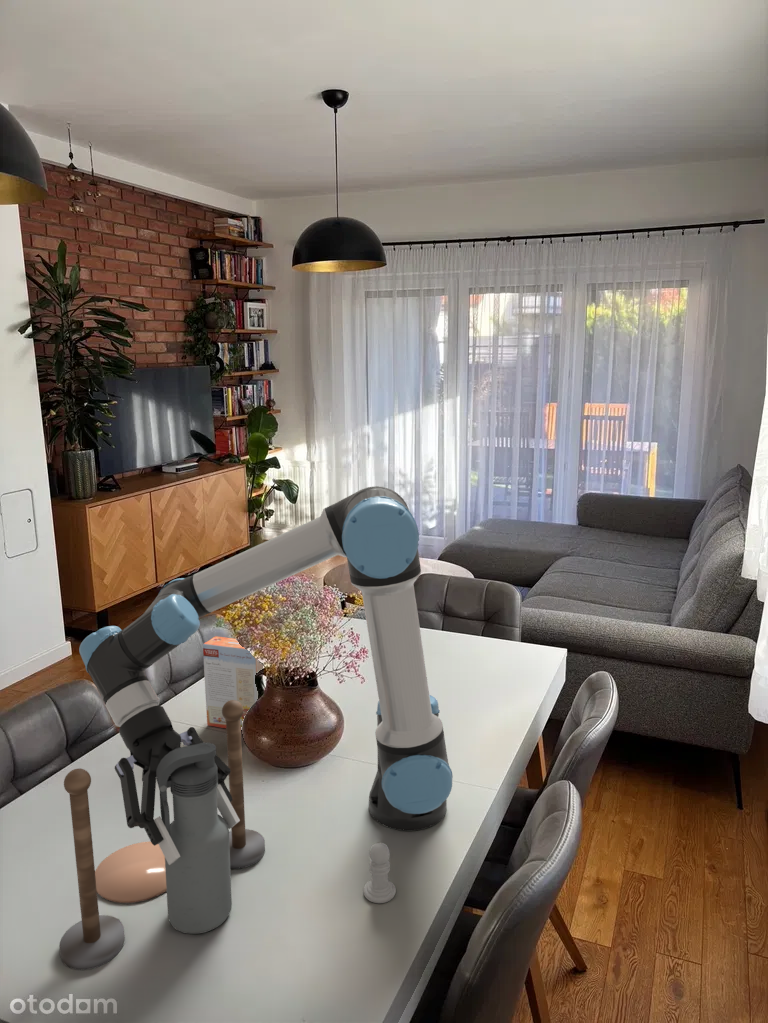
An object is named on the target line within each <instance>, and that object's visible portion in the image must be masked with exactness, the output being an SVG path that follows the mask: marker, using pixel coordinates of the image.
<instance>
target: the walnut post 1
mask: <svg viewBox="0 0 768 1023" xmlns="http://www.w3.org/2000/svg"><path fill="white" fill-rule="evenodd" d="M63 780H64V781H63V787H64V790H65V792H66V793H68V794H69V802H70V804H69V805H70V813H71V822H72V824H71V825H72V834H73V843H74V844H73V845H74V855H75V866H76V873H77V874H76V877H77V885H78V896H79V908H80V915H81V916H80V917H81V920H80V921H78V922H75V923H73V925H71V926H70V927H69V928H68V929H67V930H66V931H65V933H64V934H63V935H62V937H61V939H60V942H59V954H60V955H59V956H60V960H61V962H62V963H63V965H64V966H66V967H67V968H68V969H69V968H70V969H73V970H75V971H76V970H78V971H79V970H80V971H85V970H91V969H94V968H95V969H96V968H97V967H100V966H103V965H104V964H107V963H108V962H110V961H111V960H112V959H114V958H115V957H116V956H117V955H118V954H119V953H120V952H121V950H122V949H123V947H124V944H125V941H126V939H125V938H126V937H125V927H124V924H123V922H122V921H121V919H119V918H117V917H115V916H113V915H109V914H107V915H106V914H104V915H103V914H102V915H100V913H99V901H98V900H99V899H98V893H97V888H96V877H95V871H96V868H95V866H96V865H95V859H94V846H93V837H92V836H93V834H92V825H91V823H92V822H91V814H90V803H89V792H88V790H89V789H90V786H91V784H92V777H91V775H90V773H89V772H88V770H86V769H85V768H74V769H72V770H70V771H69V772H68V773H67V774H66V776H64V779H63Z"/></svg>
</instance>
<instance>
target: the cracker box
mask: <svg viewBox="0 0 768 1023" xmlns="http://www.w3.org/2000/svg"><path fill="white" fill-rule="evenodd" d="M236 639H237V638H231V637H224V636H218V635H216V636H213V637H212V638H210V639H209V640H207V641H205V642H204V643H202V652H203V670H204V671H203V672H204V673H203V674H204V675H203V676H204V694H205V705H206V706H205V709H206V724H207V726H209V727H216V728H222V729H226V719H225V718H224V717H223V715H222V708H223V706H224V704H225V703H226V702H228V701H230V700H237V701H239V702H240V703H241V704H242V706H243V715H242V717H241V718H240V723H241V727H242V721H243V719H244V716H245V715H246V713H247V711H248V710H249V709H250V707H251V706H252V705H253V704H254V703H255V702H256V701H257V699H258V691H257V687H256V684H255V675H256V673H258V672H259V671H260V670H262V669H263V665H262V664H260V663H259V662H258V661H257V660H256V659H255V658H254V657H253V656H252V655H251V653H250V651H248V650H246V649H245V648H244V647H242V646H241V645H240V644H239V642H238V641H237V640H236Z"/></svg>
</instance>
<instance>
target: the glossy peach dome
mask: <svg viewBox="0 0 768 1023" xmlns="http://www.w3.org/2000/svg"><path fill="white" fill-rule="evenodd" d="M95 877H96V888H97V895H99V897H101V898H103V899H104V900H107V901H108V902H109V901H110V902H112V903H119V904H132V903H133V904H134V903H139V902H144V901H148V900H150V899H153V898H157V897H158V896H161V895H162V894H164V893H167V888H166V870H165V856H164V854H163V852H162V850H161V848H160V846H159V844H157V845H155V846H154V845H153V844H152V843H151V841H150V840H149V841H141V842H137V843H133V844H129V845H126V846H124V847H122V848H119V849H117V850H115V851H114V852H112V853H111V854H109V855H108V856H106V858H104V859H103V860H102V861H101V862H100V863H99V864H98V866H97V867H96V868H95Z"/></svg>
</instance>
